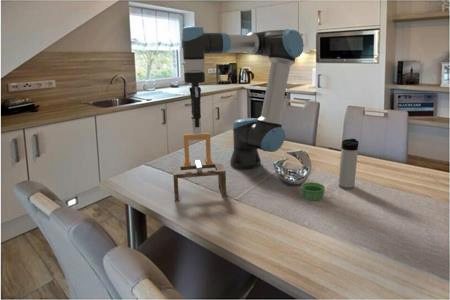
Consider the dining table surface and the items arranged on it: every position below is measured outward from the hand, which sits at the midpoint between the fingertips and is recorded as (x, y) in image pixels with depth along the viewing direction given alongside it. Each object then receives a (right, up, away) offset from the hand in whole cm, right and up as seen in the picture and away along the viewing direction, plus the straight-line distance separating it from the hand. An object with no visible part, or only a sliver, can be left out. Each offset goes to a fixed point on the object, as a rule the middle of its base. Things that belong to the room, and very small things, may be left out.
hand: (196, 133), depth 134 cm
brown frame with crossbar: (+1, -24, +7) cm, 25 cm away
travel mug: (+62, -22, +12) cm, 66 cm away
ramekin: (+45, -25, +3) cm, 52 cm away
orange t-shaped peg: (0, -11, +4) cm, 12 cm away
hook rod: (0, -13, +4) cm, 14 cm away
